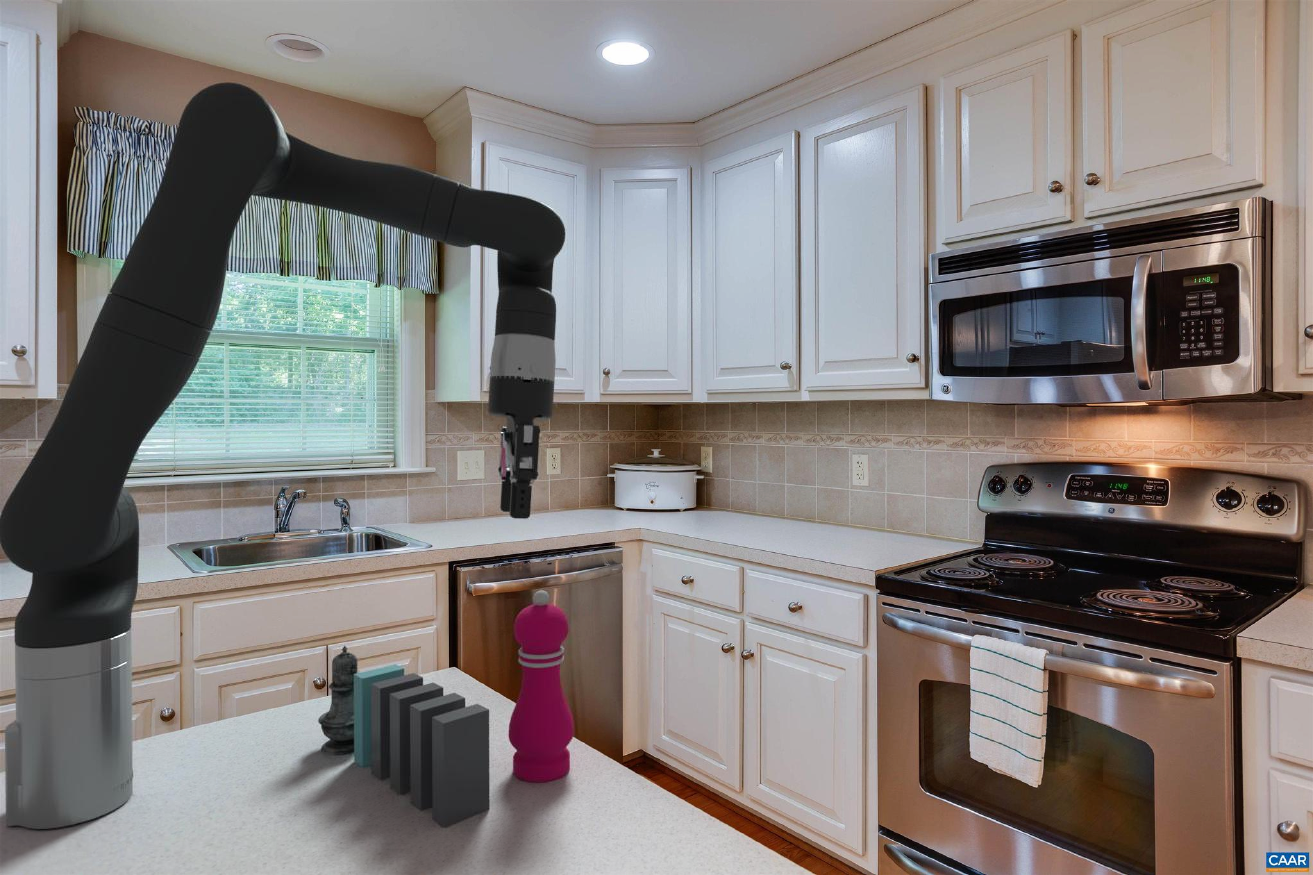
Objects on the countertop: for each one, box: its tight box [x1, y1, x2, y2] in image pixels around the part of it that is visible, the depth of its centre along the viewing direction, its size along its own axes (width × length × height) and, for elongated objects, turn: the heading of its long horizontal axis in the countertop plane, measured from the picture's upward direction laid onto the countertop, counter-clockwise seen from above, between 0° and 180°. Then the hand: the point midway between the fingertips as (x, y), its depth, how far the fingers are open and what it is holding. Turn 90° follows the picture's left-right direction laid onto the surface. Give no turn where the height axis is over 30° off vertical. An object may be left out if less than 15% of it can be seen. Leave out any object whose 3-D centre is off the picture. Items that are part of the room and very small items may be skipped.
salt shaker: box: [317, 645, 359, 756], centre depth 90 cm, size 6×6×12 cm
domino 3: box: [389, 682, 444, 796], centre depth 80 cm, size 2×5×10 cm, turn 135°
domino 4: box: [410, 692, 466, 812], centre depth 77 cm, size 2×5×10 cm, turn 135°
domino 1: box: [353, 664, 405, 768], centre depth 86 cm, size 2×5×10 cm, turn 135°
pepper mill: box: [508, 590, 575, 783], centre depth 83 cm, size 7×7×20 cm
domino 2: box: [371, 672, 424, 782], centre depth 83 cm, size 2×5×10 cm, turn 135°
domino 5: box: [432, 703, 491, 829], centre depth 74 cm, size 2×5×10 cm, turn 135°
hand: (514, 514), depth 88 cm, fingers open, 8 cm apart
